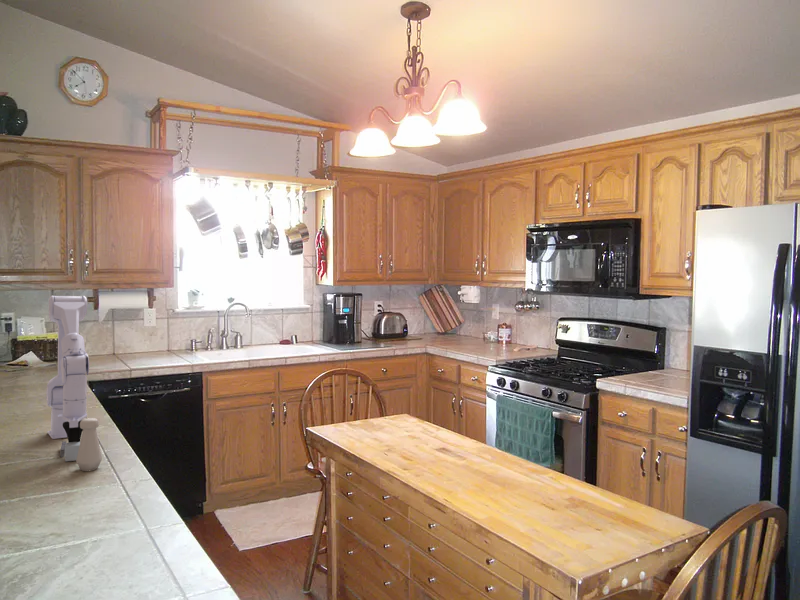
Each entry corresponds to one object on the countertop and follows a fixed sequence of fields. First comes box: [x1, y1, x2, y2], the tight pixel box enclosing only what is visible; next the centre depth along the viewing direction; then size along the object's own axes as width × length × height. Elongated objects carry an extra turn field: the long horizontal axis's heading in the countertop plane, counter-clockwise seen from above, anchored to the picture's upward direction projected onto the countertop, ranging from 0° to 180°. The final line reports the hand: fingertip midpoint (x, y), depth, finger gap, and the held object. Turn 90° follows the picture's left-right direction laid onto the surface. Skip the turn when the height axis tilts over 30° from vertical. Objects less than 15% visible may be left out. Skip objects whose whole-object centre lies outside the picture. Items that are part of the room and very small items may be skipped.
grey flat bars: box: [59, 440, 67, 458], centre depth 169 cm, size 9×7×2 cm
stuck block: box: [64, 442, 80, 462], centre depth 162 cm, size 4×4×4 cm
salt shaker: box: [75, 417, 103, 472], centre depth 154 cm, size 6×6×13 cm
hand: (74, 447), depth 165 cm, fingers closed
